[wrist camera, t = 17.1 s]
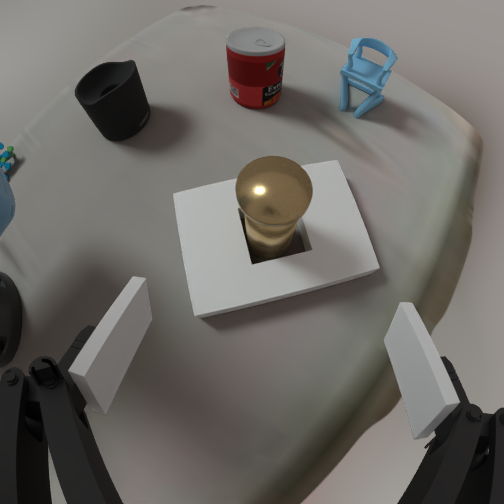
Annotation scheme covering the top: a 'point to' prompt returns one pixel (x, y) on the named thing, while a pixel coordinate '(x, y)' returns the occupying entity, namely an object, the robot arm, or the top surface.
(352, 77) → the chair
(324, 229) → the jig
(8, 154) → the gear
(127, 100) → the pen holder
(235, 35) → the canned food
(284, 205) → the brass ball knob
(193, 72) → the top surface
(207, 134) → the top surface
